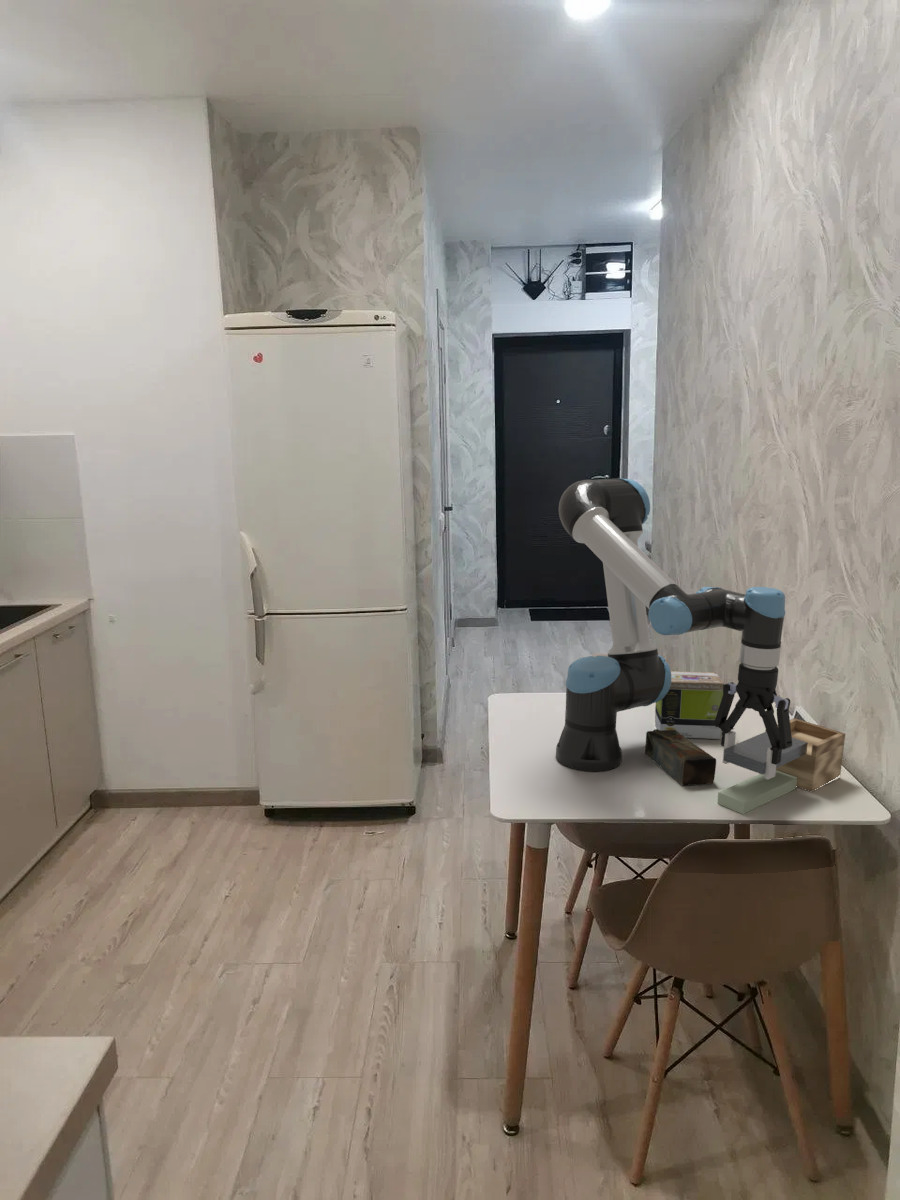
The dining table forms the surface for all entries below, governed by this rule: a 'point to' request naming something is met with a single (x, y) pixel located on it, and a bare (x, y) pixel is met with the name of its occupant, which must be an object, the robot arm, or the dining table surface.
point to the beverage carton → (680, 757)
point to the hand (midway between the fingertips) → (748, 769)
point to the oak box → (815, 755)
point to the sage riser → (756, 791)
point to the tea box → (691, 705)
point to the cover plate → (761, 753)
